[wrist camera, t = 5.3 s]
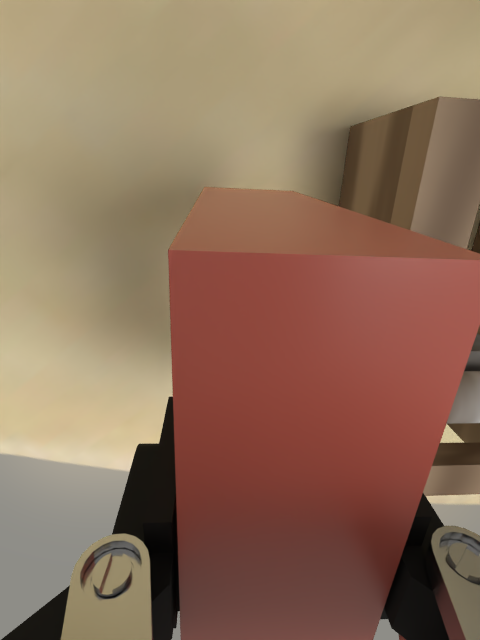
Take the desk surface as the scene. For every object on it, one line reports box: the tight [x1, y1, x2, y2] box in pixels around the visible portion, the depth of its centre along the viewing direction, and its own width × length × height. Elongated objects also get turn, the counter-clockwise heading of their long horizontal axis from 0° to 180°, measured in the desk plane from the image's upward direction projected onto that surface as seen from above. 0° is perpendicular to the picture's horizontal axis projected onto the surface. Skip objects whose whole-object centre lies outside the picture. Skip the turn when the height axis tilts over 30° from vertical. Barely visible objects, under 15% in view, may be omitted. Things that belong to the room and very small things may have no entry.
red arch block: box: [168, 187, 480, 640], centre depth 13 cm, size 4×13×13 cm, turn 177°
